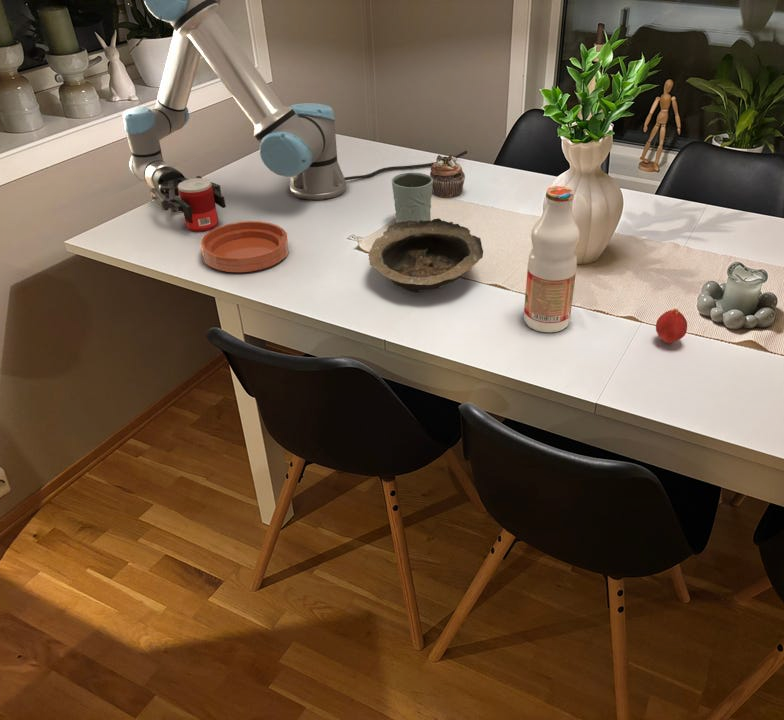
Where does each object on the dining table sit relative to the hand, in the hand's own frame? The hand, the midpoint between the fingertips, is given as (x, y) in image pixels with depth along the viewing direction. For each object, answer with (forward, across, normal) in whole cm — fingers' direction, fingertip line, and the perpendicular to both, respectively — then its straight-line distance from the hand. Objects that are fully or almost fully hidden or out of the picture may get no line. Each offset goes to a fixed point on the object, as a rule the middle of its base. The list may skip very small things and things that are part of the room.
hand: (207, 207), depth 177 cm
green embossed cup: (+29, -40, -7) cm, 50 cm away
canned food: (-5, 0, -7) cm, 8 cm away
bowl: (+16, 0, -6) cm, 18 cm away
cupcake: (+19, -61, -7) cm, 65 cm away
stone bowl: (+52, -25, -7) cm, 58 cm away
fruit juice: (+82, -32, -7) cm, 88 cm away
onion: (+103, -44, -7) cm, 112 cm away
